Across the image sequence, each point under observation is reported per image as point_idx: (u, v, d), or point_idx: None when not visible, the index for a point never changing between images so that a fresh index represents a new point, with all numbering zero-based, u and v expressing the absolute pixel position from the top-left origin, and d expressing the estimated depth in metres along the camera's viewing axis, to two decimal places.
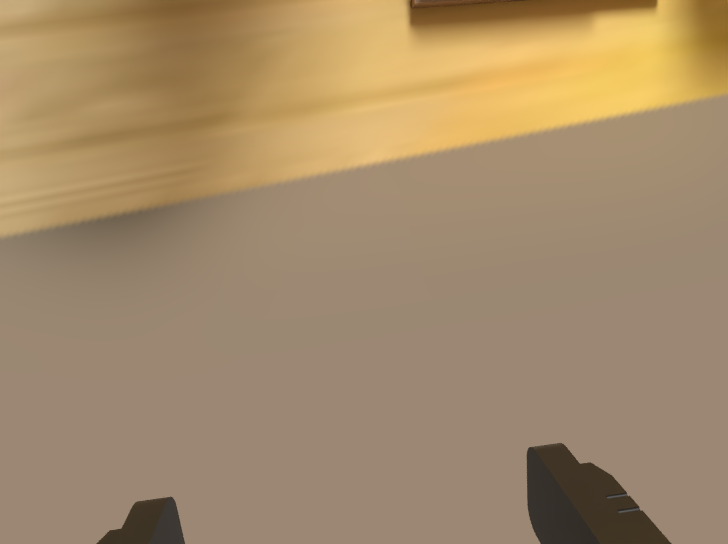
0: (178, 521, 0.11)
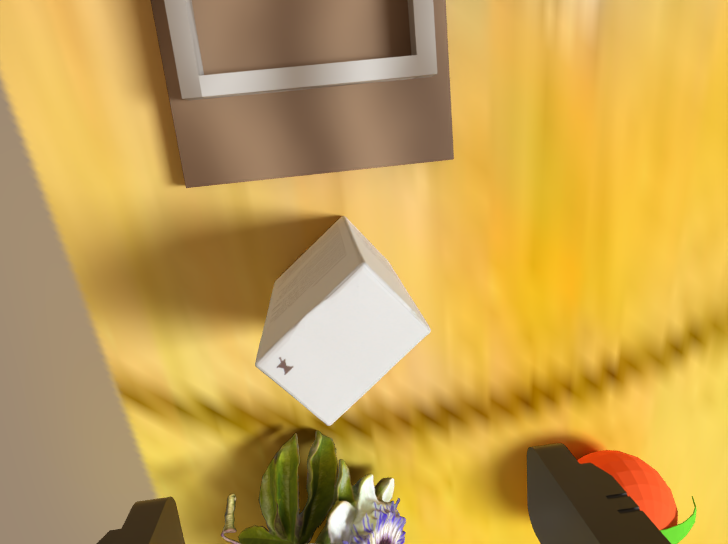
0: (178, 521, 0.11)
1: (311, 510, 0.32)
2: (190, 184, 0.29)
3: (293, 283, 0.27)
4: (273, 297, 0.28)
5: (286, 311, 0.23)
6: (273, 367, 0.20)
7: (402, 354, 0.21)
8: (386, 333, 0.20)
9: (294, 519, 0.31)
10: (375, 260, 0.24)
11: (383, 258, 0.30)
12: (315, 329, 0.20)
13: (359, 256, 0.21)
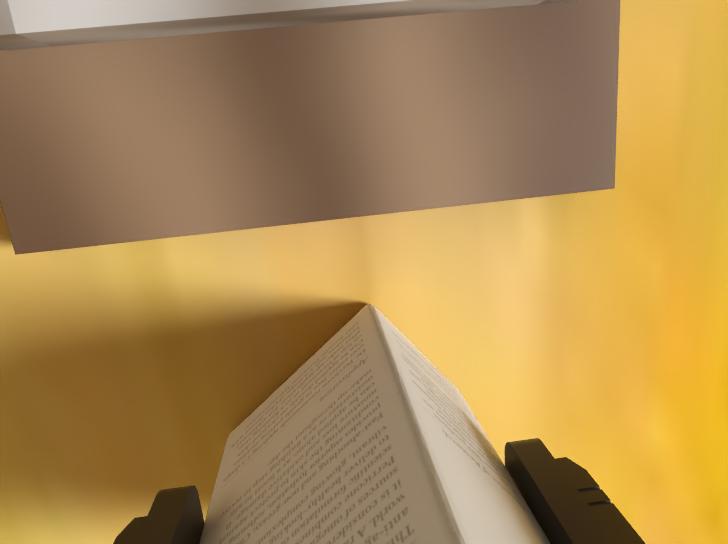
0: (200, 509, 0.12)
1: None
2: (25, 246, 0.13)
3: (254, 512, 0.10)
4: (210, 521, 0.12)
5: None
6: None
7: None
8: None
9: None
10: (487, 505, 0.08)
11: (460, 405, 0.13)
12: None
13: None
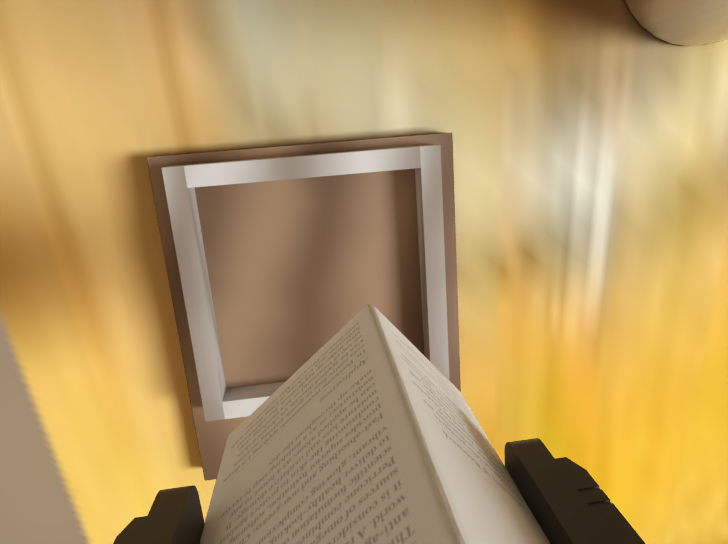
0: (200, 509, 0.12)
1: None
2: (209, 477, 0.30)
3: (254, 513, 0.10)
4: (210, 521, 0.12)
5: None
6: None
7: None
8: None
9: None
10: (488, 506, 0.08)
11: (460, 405, 0.13)
12: None
13: None
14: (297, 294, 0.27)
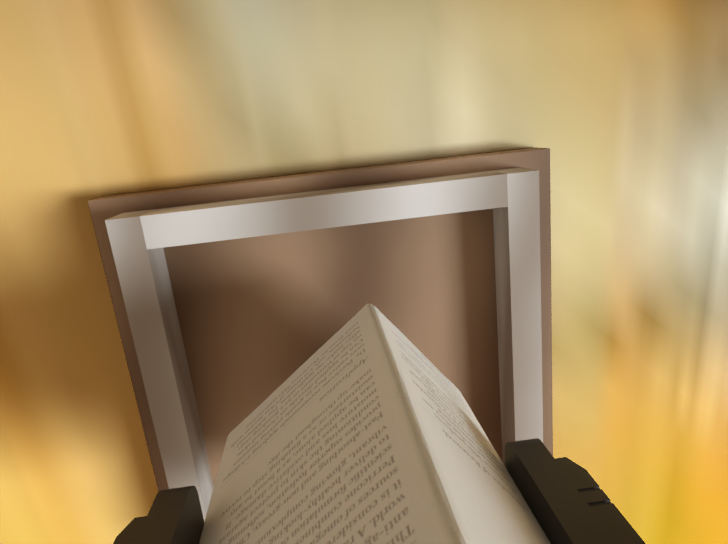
0: (200, 509, 0.12)
1: None
2: None
3: (254, 512, 0.10)
4: (210, 520, 0.12)
5: None
6: None
7: None
8: None
9: None
10: (488, 505, 0.08)
11: (460, 405, 0.13)
12: None
13: None
14: None
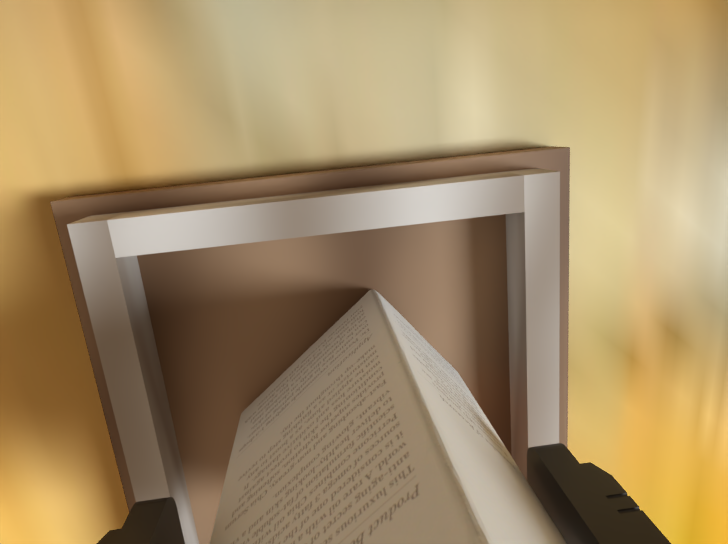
0: (178, 521, 0.11)
1: None
2: None
3: (270, 473, 0.11)
4: (229, 484, 0.13)
5: None
6: None
7: None
8: None
9: None
10: (479, 456, 0.09)
11: (457, 381, 0.15)
12: None
13: None
14: None
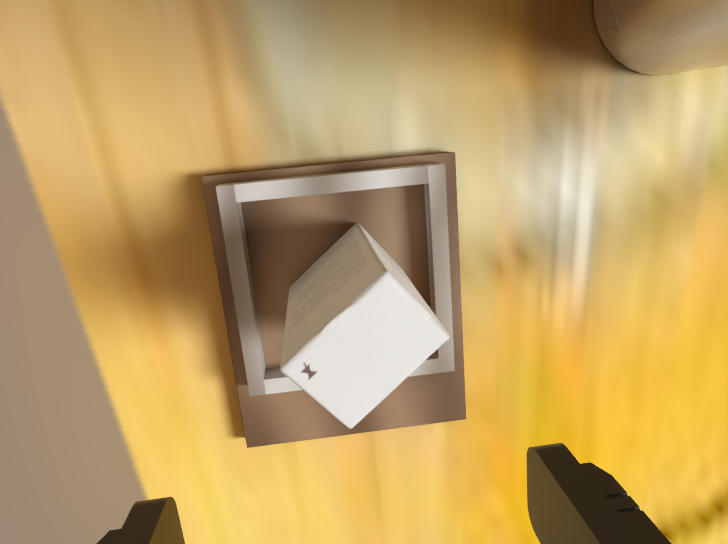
0: (178, 521, 0.11)
1: None
2: (250, 445, 0.35)
3: (311, 289, 0.27)
4: (290, 303, 0.28)
5: (307, 317, 0.24)
6: (298, 372, 0.21)
7: (422, 359, 0.21)
8: (407, 340, 0.21)
9: None
10: (392, 268, 0.25)
11: (396, 265, 0.30)
12: (339, 336, 0.21)
13: (381, 265, 0.21)
14: None
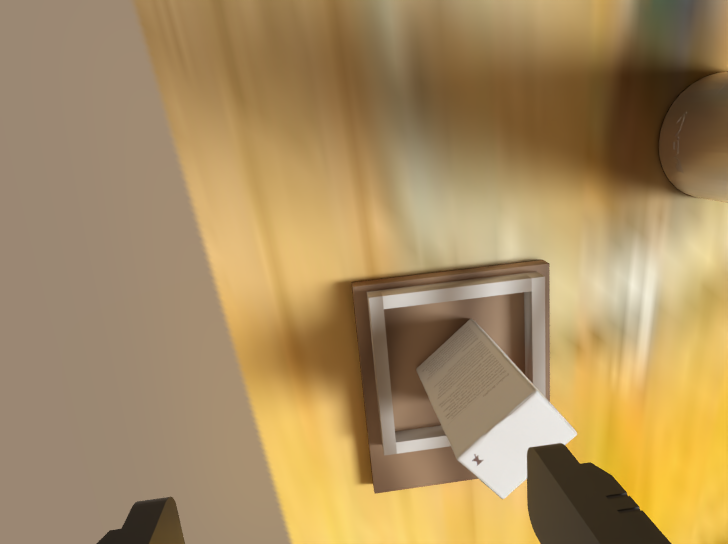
0: (178, 521, 0.11)
1: None
2: (377, 491, 0.43)
3: (450, 382, 0.35)
4: (429, 389, 0.37)
5: (463, 413, 0.32)
6: (470, 460, 0.29)
7: None
8: (547, 437, 0.29)
9: None
10: (520, 371, 0.33)
11: None
12: (500, 435, 0.29)
13: (527, 382, 0.30)
14: None
